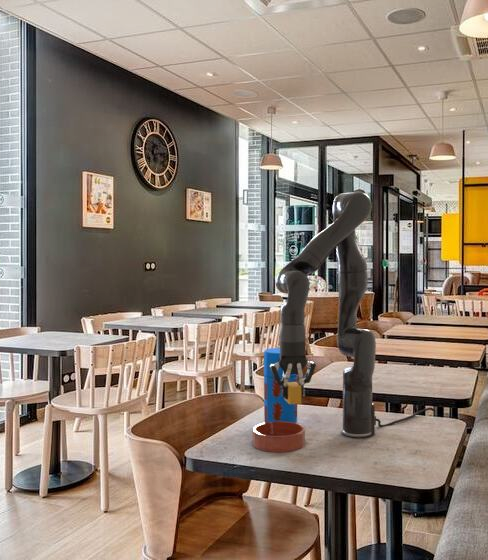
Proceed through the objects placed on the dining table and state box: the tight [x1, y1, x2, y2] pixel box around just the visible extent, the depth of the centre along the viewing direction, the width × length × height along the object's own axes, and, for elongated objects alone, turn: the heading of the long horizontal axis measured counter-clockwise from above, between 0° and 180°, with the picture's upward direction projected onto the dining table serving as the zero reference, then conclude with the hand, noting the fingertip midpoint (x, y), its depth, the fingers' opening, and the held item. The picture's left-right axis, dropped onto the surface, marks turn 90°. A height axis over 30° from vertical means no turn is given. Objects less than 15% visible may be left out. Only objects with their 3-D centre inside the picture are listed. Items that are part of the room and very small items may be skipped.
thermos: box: [263, 347, 298, 423], centre depth 197 cm, size 11×11×25 cm
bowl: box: [252, 421, 306, 453], centre depth 180 cm, size 15×15×4 cm
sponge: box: [285, 381, 302, 405], centre depth 174 cm, size 4×6×5 cm, turn 15°
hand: (292, 397), depth 174 cm, fingers closed on sponge, 3 cm apart
